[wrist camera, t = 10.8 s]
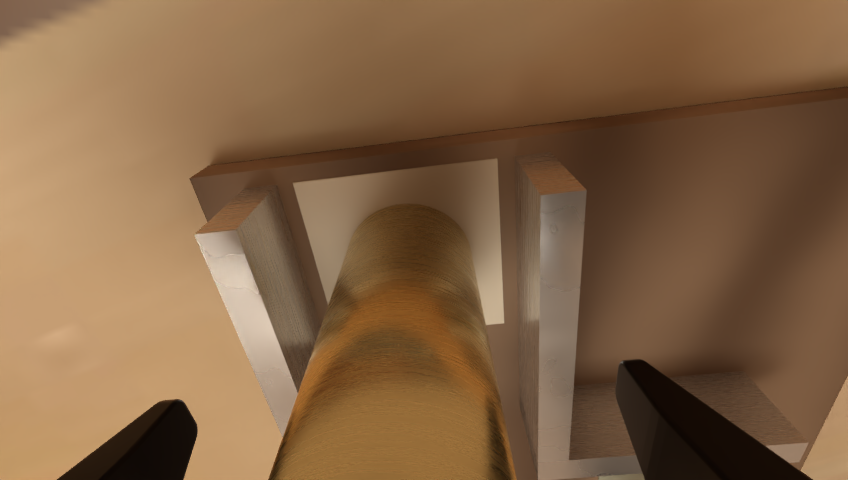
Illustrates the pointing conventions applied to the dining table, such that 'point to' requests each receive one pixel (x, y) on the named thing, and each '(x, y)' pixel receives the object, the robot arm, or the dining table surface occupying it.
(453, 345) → the brass peg
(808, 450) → the pale grey flat strip
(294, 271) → the steel rails
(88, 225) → the dining table surface
